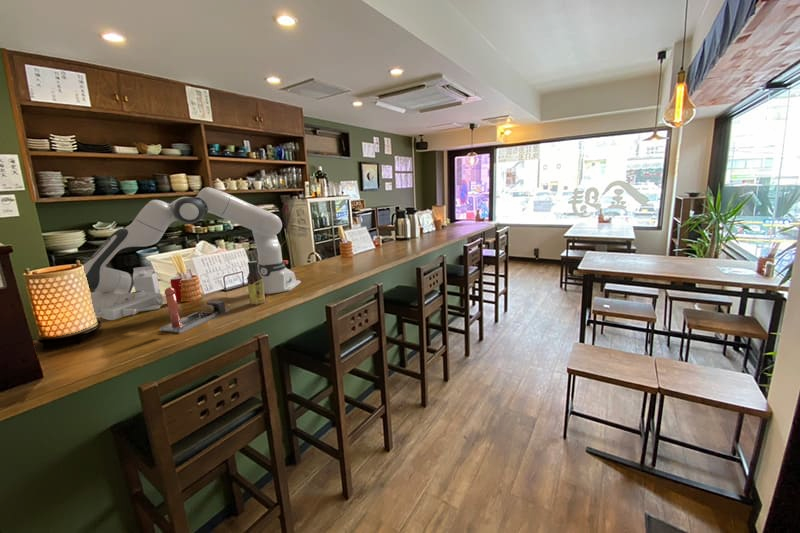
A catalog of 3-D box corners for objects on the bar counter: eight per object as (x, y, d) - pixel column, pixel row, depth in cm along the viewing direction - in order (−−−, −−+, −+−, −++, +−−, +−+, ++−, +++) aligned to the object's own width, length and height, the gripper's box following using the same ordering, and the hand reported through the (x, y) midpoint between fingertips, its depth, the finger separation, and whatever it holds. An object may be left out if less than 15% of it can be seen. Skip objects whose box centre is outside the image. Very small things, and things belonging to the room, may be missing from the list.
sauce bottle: (260, 308, 150) (253, 263, 146) (247, 308, 151) (240, 263, 147) (268, 303, 156) (262, 260, 152) (256, 302, 158) (250, 260, 153)
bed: (212, 310, 150) (210, 299, 149) (231, 312, 147) (229, 300, 146) (160, 334, 128) (157, 320, 127) (181, 336, 125) (178, 322, 124)
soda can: (183, 303, 162) (178, 278, 159) (172, 303, 162) (166, 278, 159) (190, 299, 167) (186, 275, 164) (179, 299, 167) (174, 275, 165)
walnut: (209, 312, 145) (207, 303, 144) (217, 312, 143) (215, 303, 143) (201, 315, 141) (199, 306, 140) (209, 316, 140) (207, 307, 139)
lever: (179, 323, 133) (171, 284, 130) (194, 324, 131) (186, 284, 128) (162, 330, 127) (153, 289, 123) (177, 332, 125) (168, 290, 121)
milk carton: (144, 306, 159) (135, 266, 155) (163, 304, 162) (154, 264, 157) (140, 311, 153) (130, 269, 148) (159, 309, 155) (150, 267, 151)
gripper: (90, 306, 124) (117, 308, 120) (145, 289, 143) (171, 291, 139) (94, 322, 126) (121, 325, 122) (149, 303, 145) (174, 306, 141)
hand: (148, 307), depth 131 cm, fingers open, 8 cm apart
